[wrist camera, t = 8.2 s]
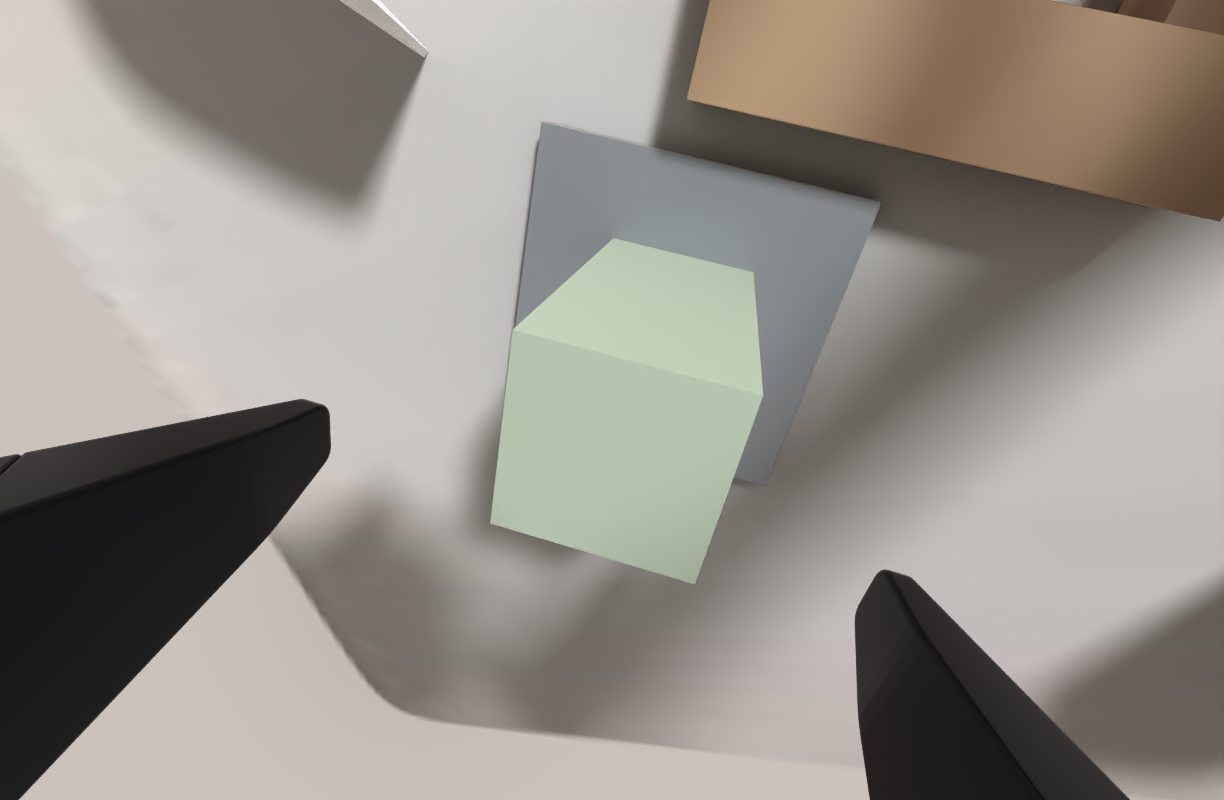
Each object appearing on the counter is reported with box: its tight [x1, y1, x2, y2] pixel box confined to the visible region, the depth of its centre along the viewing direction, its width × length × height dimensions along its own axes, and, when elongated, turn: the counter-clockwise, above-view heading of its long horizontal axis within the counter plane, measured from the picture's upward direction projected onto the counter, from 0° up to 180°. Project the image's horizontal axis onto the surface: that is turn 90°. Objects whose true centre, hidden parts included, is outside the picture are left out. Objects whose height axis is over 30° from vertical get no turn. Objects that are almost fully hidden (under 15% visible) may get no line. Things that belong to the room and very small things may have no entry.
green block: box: [490, 238, 763, 584], centre depth 13 cm, size 4×4×8 cm
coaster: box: [515, 122, 881, 486], centre depth 17 cm, size 9×9×1 cm
